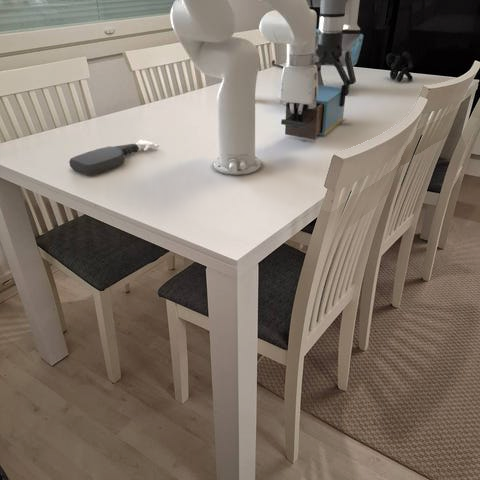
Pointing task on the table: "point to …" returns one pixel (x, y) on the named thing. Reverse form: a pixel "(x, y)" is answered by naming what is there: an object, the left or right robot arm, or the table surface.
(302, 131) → the drawer
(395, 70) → the squiggle
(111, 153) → the spray bottle
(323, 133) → the cabinet
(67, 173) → the table surface
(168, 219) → the table surface
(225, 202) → the table surface
